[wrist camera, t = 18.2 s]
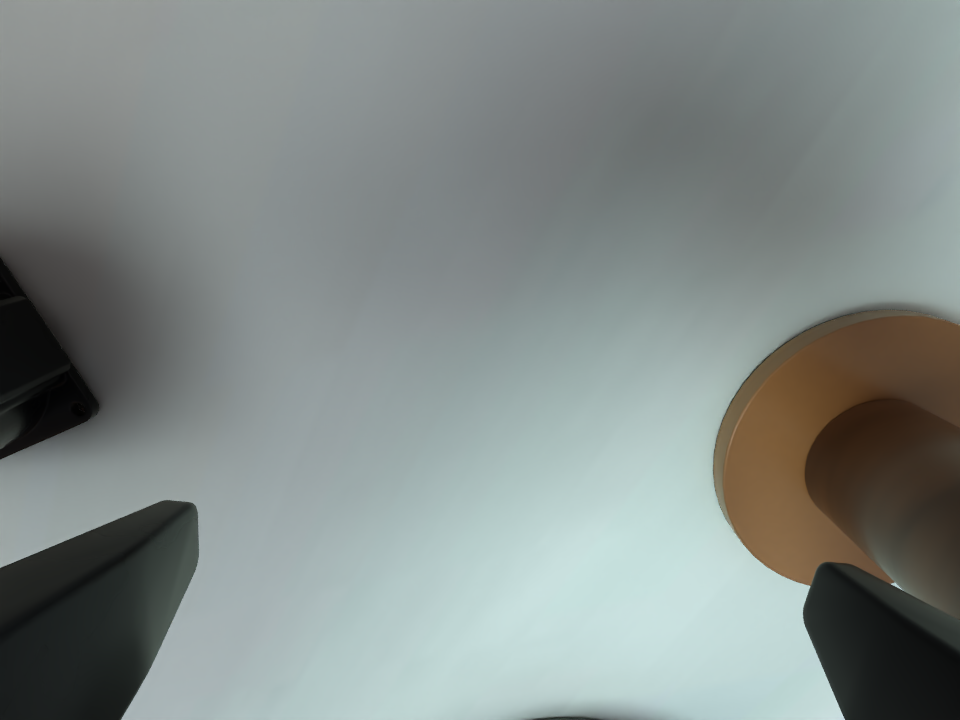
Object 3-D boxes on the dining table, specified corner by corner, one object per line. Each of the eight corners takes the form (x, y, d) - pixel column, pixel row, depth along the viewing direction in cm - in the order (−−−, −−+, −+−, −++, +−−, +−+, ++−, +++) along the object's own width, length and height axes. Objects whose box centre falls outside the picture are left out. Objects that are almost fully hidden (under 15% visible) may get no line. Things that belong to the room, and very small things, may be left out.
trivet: (756, 610, 25) (767, 627, 24) (674, 380, 22) (684, 390, 21) (1025, 515, 24) (1049, 530, 23) (980, 259, 20) (1005, 263, 20)
